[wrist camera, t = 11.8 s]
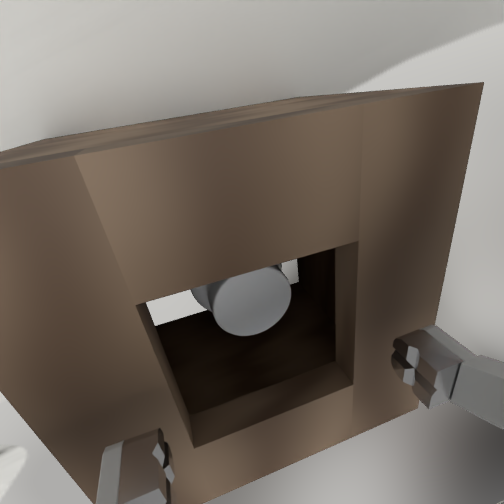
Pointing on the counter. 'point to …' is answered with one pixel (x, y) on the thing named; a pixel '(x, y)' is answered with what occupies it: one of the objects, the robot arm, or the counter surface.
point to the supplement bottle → (247, 300)
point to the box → (227, 276)
